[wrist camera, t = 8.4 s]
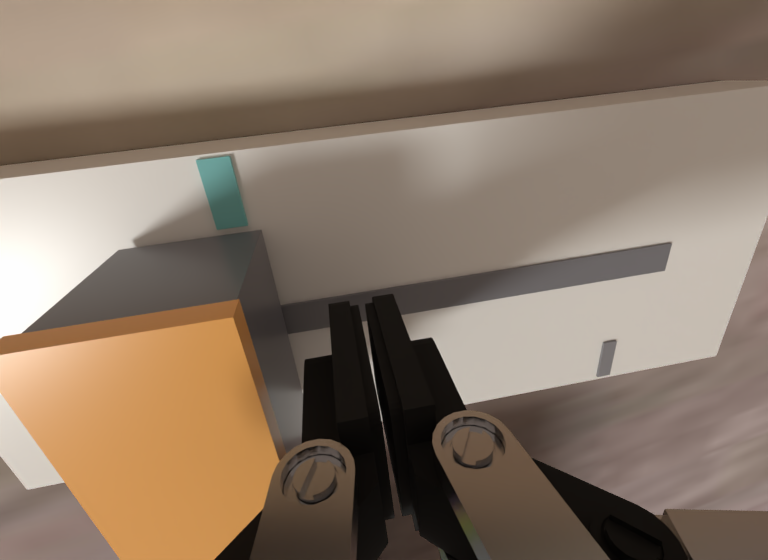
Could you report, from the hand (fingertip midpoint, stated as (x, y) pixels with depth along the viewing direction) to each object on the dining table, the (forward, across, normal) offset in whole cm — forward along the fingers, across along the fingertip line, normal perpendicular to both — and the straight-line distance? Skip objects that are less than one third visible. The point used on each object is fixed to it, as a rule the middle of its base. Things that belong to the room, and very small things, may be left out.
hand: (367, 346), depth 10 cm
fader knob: (+2, +4, 0) cm, 4 cm away
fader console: (+5, -1, 0) cm, 5 cm away
